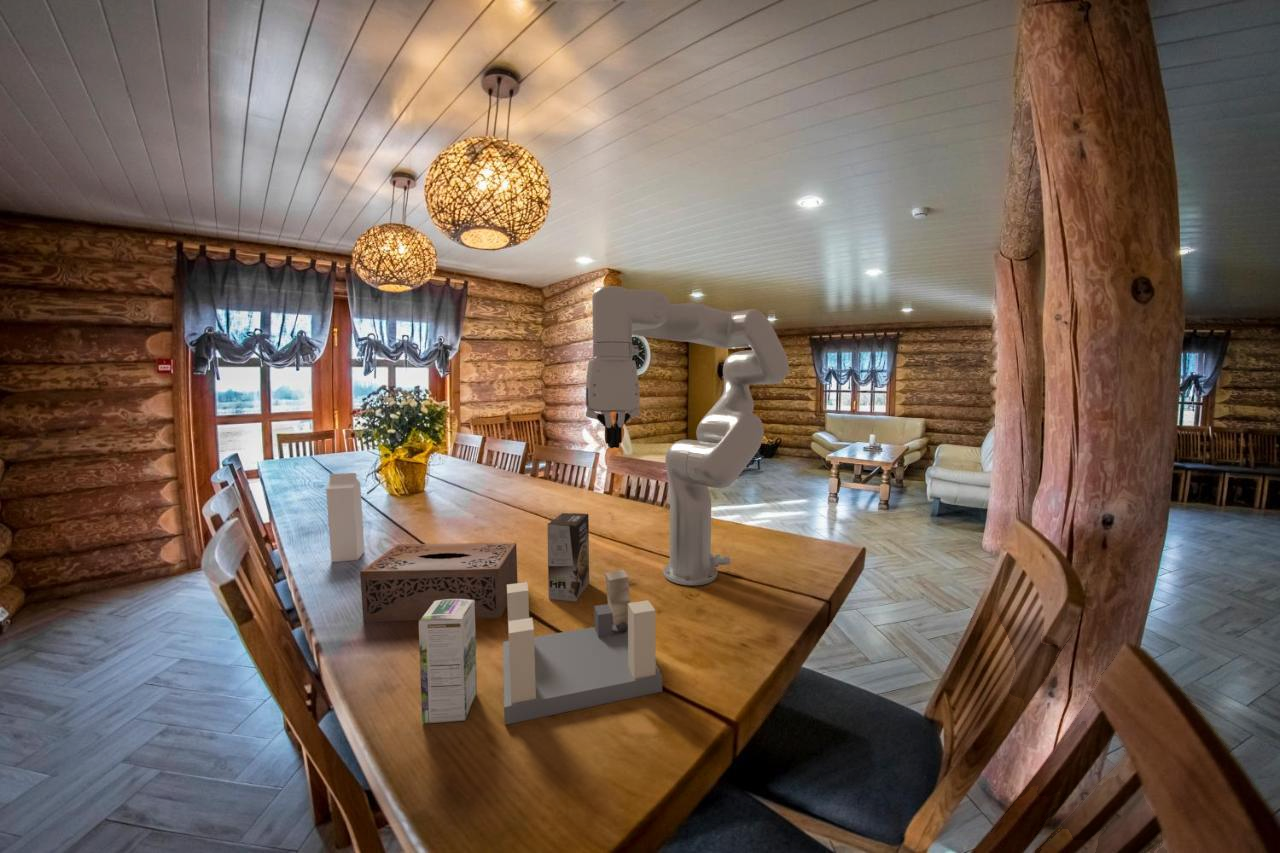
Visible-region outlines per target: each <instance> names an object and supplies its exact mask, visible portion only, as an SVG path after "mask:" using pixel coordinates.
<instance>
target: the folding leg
mask: <svg viewBox="0 0 1280 853" xmlns="http://www.w3.org/2000/svg"><path fill="white" fill-rule="evenodd" d="M604 574H605V575H604V576H605V586H606V597H607V604H608V605H609V607H610V609H611V611H612V624H613V626H615V625H616V626H617V629H618V631H619V632H621V633H624V632H626V631H627V630H628V624H627V623H628V603H631V598H630V585H629V576H628V575H627V573H626V571H625V570H624V569H619V570H612V571H608V572H605V573H604Z"/></svg>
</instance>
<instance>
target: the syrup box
mask: <svg viewBox="0 0 1280 853" xmlns="http://www.w3.org/2000/svg"><path fill="white" fill-rule="evenodd" d="M418 637H419V638H418V639H419V640H418V643H419V671H420V700H421V722H422V723H423V724H434V723H435V724H437V723H451V722H458V721H459V722H460V721H461V722H462V721H466V720H467V719H468V718H467V717H468V715H469V713H470V710H471V707H472V704H473V702H474V700H475V697H476V695H477V694H478V692H477V690H478V689H477V688H478V686H477V684H478V683H477V648H476V646H477V645H476V643H477V641H476V639H477V638H476V619H475V601H474V600H468V599H444V600H437V601H434V603H433V604H432V605H431V607H430V608H429V609H428V610H427V612H426V613H425V614H424V616H423V617H422V618H421V619H420V620H418Z"/></svg>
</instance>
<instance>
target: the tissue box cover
mask: <svg viewBox="0 0 1280 853" xmlns="http://www.w3.org/2000/svg"><path fill="white" fill-rule="evenodd" d="M517 551H518V550H517V542H482V543H481V542H476V543H475V542H474V543H473V542H469V543H467V542H465V543H422V544H421V543H417V544H416V543H415V544H413V543H412V544H411V543H410V544H409V543H407V544H406V543H405V544H396V545H395V546H393V547H392V548H390V549H389V550H388V551H386V552H385V553H383V554H382V555H381V556H380V557H378V558H377V559H375V560H374V561H372V562H371V563H370V564H369V565H367V566H365V567H364V568H363V569H362V570H360V571H359V576H360V590H361V591H360V593H361V606H362V608H361V609H362V621H363V622H381V621H382V622H384V621H385V622H387V621H420V619H421V618H422V617H423V616H424V614H425V613H426V612H427V610H428V609H429V608H430V607H431V605H432V604H433V603H434V601H437V600H444V599H468V600H474V601H475V620H476V619H501V618H502V616H503V614H504V613H505V611H506V608H507V607H508V606H507V585H508V584H516V583H519V582H518V557H517V556H518V555H517V553H518V552H517Z"/></svg>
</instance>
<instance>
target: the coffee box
mask: <svg viewBox="0 0 1280 853" xmlns="http://www.w3.org/2000/svg"><path fill="white" fill-rule="evenodd" d="M589 516H590V515H589V513H575V512H574V513H571V512H570V513H569V512H568V513H566V512H562V513H560V514H559V515H558V516H557V517H555V518H554V519H553V520H551V521H550V522H548V523H547V565H548V566H547V569H548V570H547V572H548V573H547V574H548V575H547V577H548V578H547V579H548V581H547V582H548V599H549V600H557V601H565V602H566V601H567V602H573V603H575V602H577V601H578V600H579V598H580V597H581V596H582V594H583V593H584V591H585V590H586V588H588V586H589V585H590V543H589V542H590V541H589V540H590V537H589V535H590V534H589V532H590V531H589V530H590V529H589V528H590V526H589V522H590V521H589Z"/></svg>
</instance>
